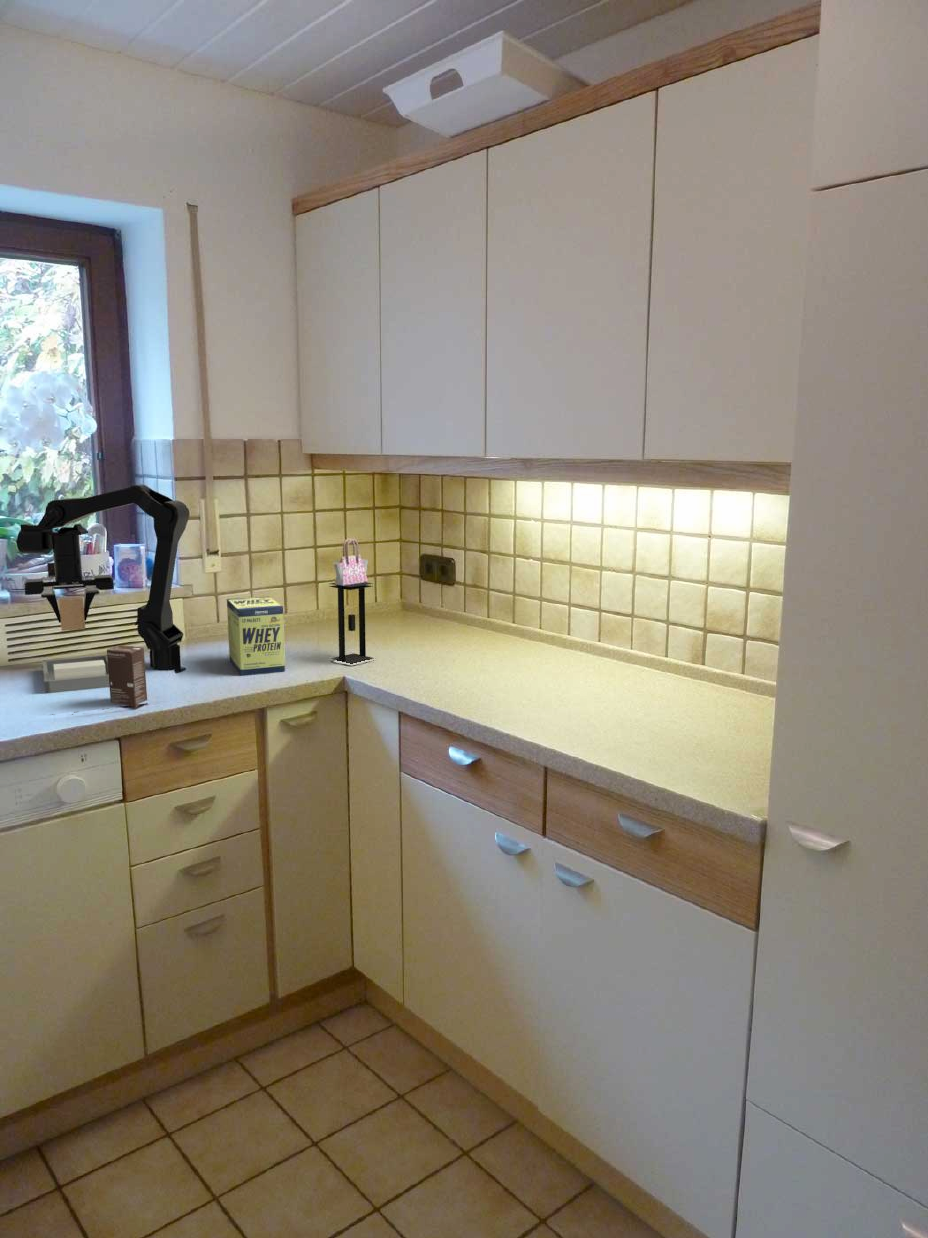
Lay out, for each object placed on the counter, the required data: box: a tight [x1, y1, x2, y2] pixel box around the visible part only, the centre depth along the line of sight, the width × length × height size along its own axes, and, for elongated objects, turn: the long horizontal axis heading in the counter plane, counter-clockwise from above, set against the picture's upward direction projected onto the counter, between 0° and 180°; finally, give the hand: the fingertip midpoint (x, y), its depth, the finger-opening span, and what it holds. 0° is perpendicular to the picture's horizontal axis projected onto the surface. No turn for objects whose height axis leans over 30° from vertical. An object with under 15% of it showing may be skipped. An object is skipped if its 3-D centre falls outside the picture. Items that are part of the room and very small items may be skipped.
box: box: [106, 644, 148, 710], centre depth 186 cm, size 6×4×12 cm
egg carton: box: [53, 660, 106, 680], centre depth 198 cm, size 5×10×4 cm, turn 115°
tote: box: [42, 654, 110, 695], centre depth 204 cm, size 20×14×4 cm
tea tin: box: [58, 595, 86, 632], centre depth 213 cm, size 5×5×7 cm
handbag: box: [328, 538, 375, 664], centre depth 222 cm, size 10×8×30 cm
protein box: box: [226, 596, 286, 677], centre depth 218 cm, size 10×16×16 cm
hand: (72, 621), depth 214 cm, fingers closed on tea tin, 5 cm apart
